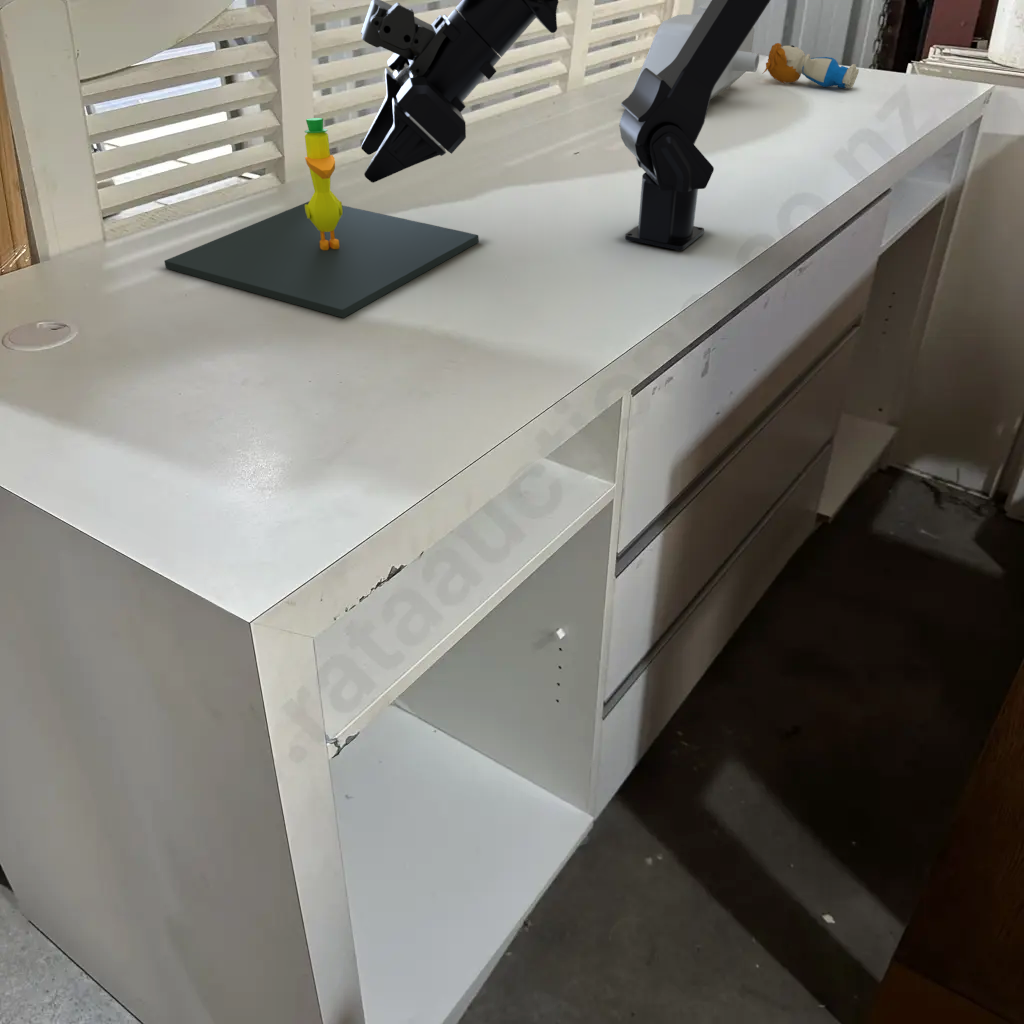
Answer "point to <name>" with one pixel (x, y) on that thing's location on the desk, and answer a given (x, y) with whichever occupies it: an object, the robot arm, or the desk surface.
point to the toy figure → (321, 183)
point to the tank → (674, 38)
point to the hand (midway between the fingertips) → (366, 164)
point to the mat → (324, 258)
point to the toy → (808, 68)
